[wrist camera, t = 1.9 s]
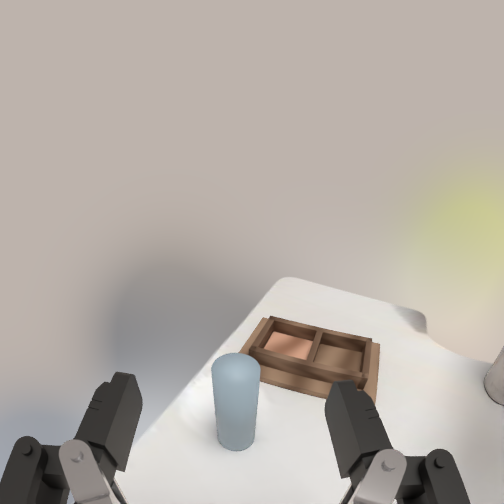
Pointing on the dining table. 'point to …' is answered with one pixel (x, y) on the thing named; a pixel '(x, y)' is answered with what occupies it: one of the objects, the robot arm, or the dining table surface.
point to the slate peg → (236, 399)
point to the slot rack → (312, 357)
